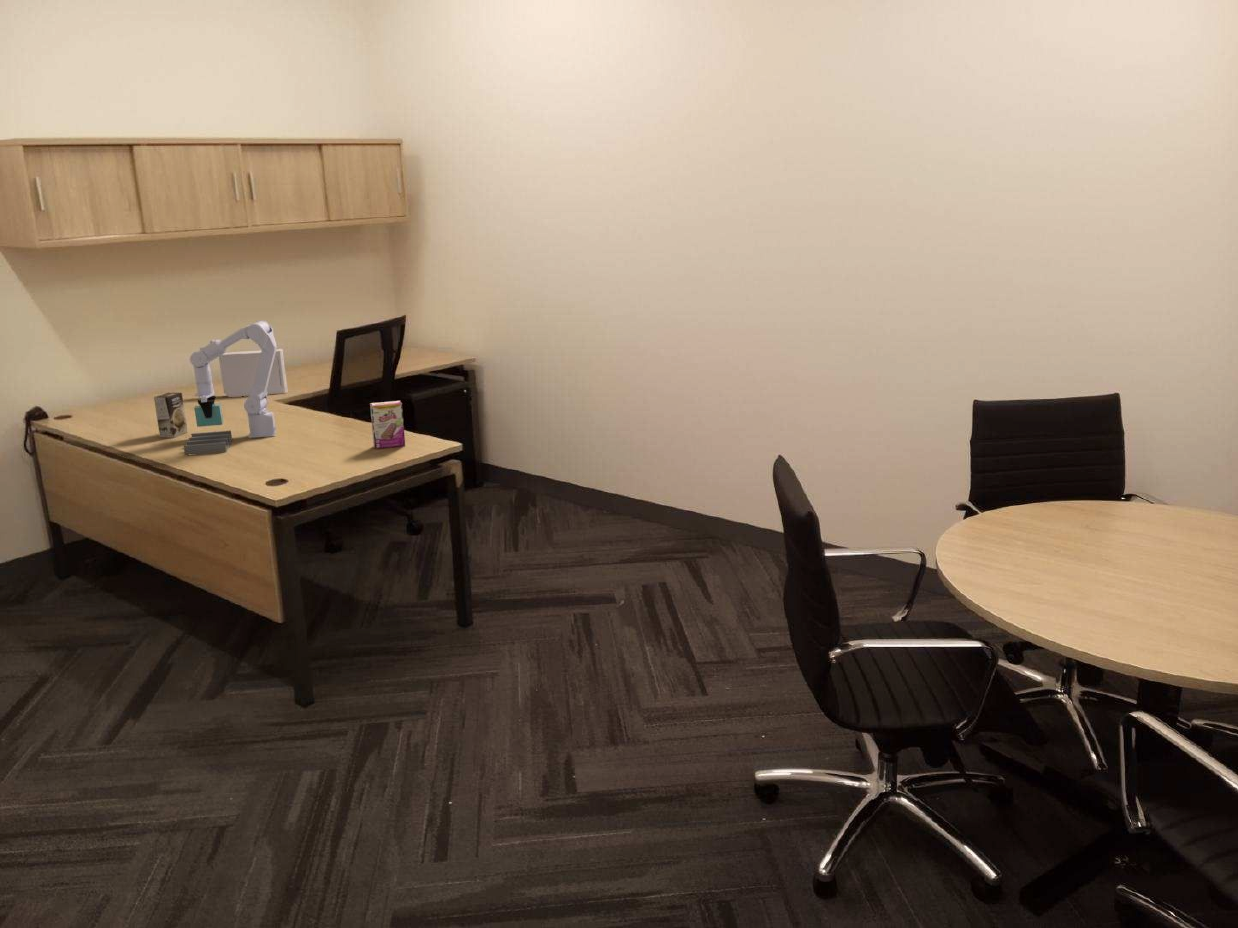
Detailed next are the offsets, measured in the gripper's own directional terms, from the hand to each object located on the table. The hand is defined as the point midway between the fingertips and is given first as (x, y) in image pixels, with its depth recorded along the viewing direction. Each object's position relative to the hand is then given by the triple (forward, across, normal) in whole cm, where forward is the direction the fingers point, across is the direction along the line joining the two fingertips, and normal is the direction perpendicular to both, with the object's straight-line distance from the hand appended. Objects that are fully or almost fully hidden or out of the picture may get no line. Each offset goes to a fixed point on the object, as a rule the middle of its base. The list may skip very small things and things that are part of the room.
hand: (209, 416), depth 372 cm
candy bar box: (+8, +37, +66) cm, 76 cm away
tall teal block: (+3, 0, 0) cm, 3 cm away
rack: (+8, +16, +1) cm, 18 cm away
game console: (+8, -74, +10) cm, 75 cm away
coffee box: (+8, -8, -15) cm, 19 cm away
